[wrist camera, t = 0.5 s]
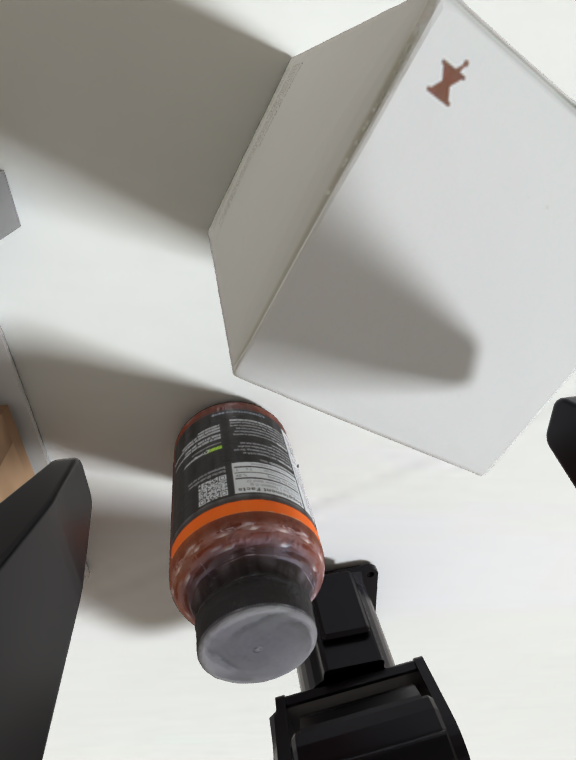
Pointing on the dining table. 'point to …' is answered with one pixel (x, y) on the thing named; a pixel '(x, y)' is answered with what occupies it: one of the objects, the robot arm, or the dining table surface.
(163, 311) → the dining table surface
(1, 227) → the backstop
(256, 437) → the supplement bottle
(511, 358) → the supplement box
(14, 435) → the wooden tray
